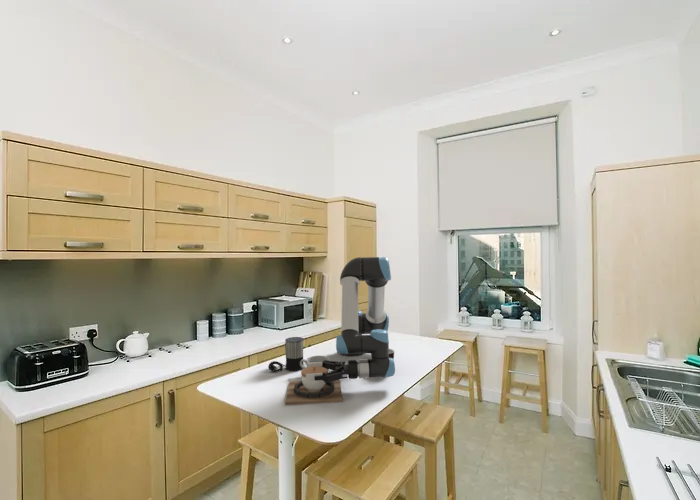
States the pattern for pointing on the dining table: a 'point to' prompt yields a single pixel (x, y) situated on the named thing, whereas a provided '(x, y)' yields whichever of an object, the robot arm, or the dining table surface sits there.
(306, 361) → the teacup
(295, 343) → the milk frother
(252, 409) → the dining table surface
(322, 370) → the lidded jar
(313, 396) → the locating board
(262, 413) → the dining table surface
